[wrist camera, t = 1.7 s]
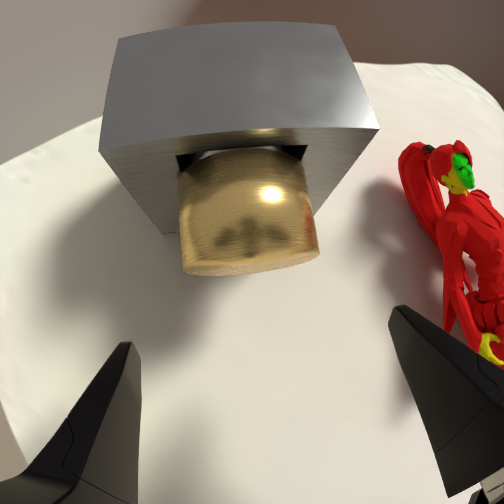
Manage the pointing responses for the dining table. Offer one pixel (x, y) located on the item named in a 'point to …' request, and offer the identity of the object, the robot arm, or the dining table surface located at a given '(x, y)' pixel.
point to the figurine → (460, 240)
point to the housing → (231, 105)
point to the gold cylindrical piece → (244, 212)
